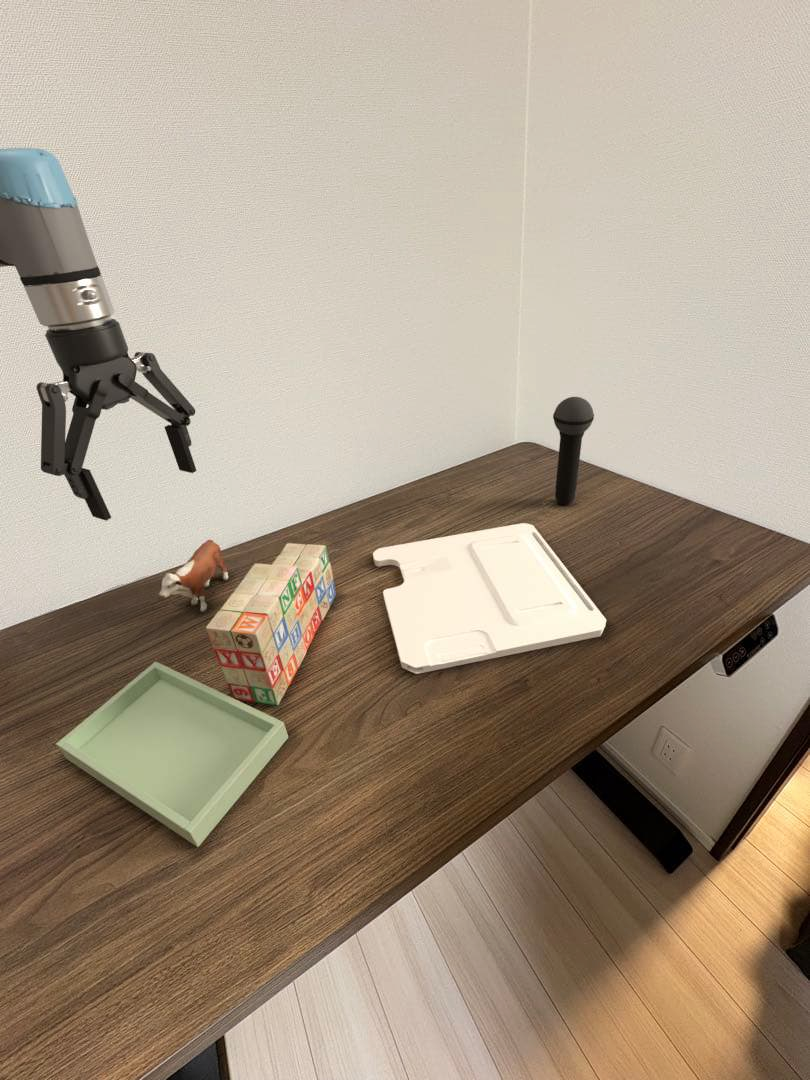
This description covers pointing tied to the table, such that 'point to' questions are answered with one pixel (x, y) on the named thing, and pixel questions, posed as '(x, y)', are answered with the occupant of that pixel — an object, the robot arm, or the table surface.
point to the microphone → (570, 444)
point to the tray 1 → (175, 749)
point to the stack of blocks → (272, 622)
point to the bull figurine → (195, 574)
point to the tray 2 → (483, 598)
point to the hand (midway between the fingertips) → (148, 492)
